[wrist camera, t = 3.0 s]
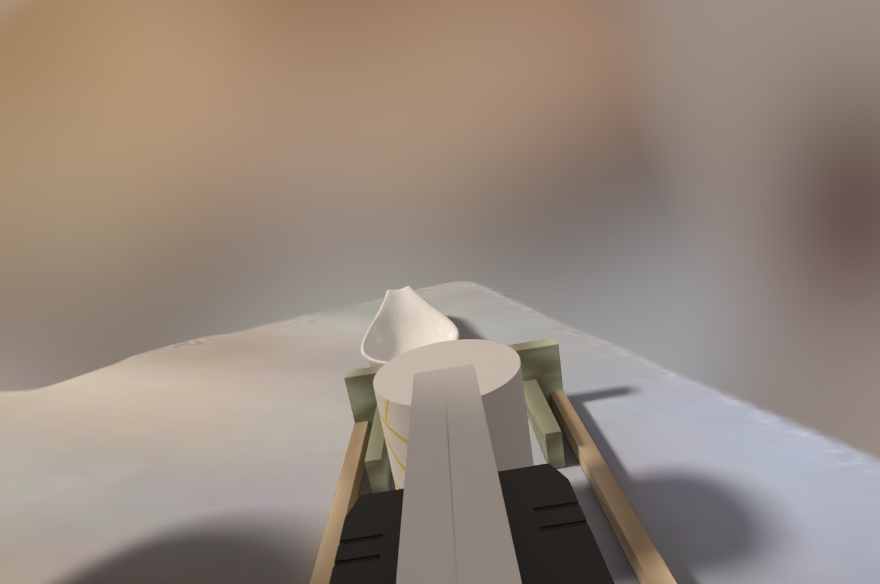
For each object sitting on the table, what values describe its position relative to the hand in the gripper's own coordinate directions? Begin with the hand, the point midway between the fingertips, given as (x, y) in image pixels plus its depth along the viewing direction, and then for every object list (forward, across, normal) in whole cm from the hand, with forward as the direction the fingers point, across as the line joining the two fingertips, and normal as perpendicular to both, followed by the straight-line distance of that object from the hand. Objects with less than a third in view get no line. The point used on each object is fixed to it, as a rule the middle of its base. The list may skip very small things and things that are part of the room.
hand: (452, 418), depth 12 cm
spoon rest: (+48, -6, -17) cm, 51 cm away
